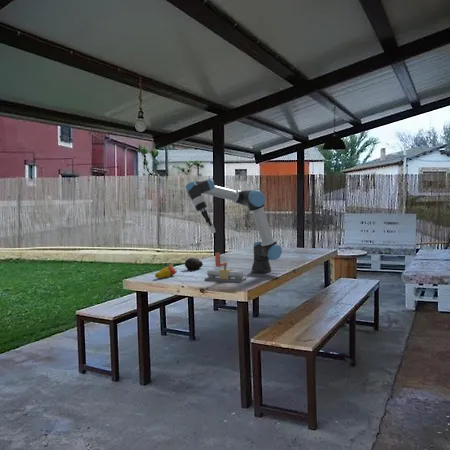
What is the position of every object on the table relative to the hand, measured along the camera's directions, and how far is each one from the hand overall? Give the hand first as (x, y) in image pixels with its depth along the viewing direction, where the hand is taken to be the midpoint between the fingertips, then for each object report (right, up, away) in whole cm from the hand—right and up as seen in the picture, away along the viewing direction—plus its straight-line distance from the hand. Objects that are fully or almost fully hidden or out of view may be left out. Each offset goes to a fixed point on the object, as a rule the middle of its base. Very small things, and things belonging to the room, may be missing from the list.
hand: (213, 231), depth 326 cm
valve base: (+8, -34, +10) cm, 36 cm away
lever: (+5, -23, +4) cm, 24 cm away
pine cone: (-17, -31, +63) cm, 73 cm away
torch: (-36, -34, +27) cm, 56 cm away
